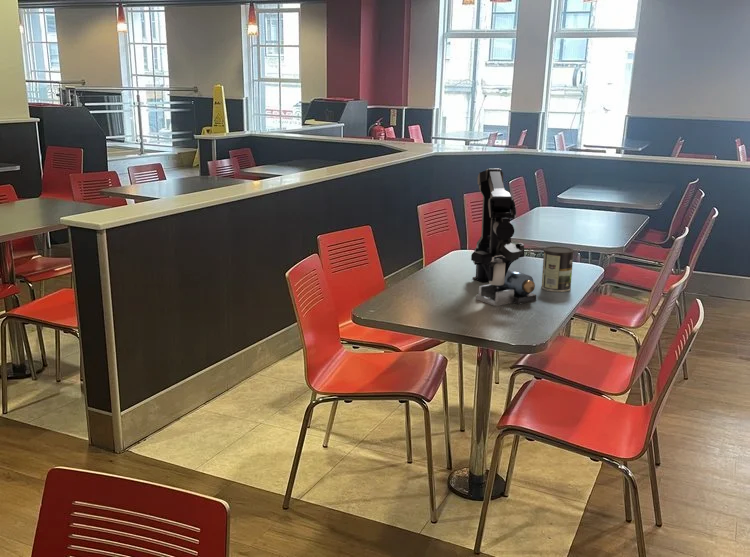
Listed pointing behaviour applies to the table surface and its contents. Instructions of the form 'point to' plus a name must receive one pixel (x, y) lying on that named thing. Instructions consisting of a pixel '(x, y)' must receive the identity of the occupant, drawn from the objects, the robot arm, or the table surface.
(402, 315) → the table surface
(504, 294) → the motor
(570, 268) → the coffee can
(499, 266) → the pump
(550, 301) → the table surface
